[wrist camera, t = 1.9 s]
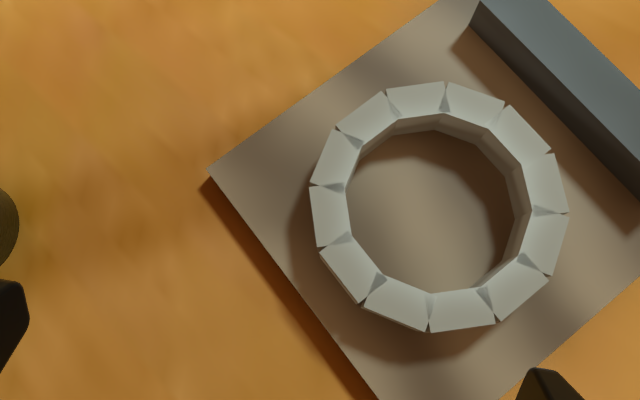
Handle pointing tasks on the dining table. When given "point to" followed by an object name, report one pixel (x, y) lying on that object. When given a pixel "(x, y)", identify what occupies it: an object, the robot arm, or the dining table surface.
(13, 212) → the dark grey cylinder
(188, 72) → the dining table surface
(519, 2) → the jig
